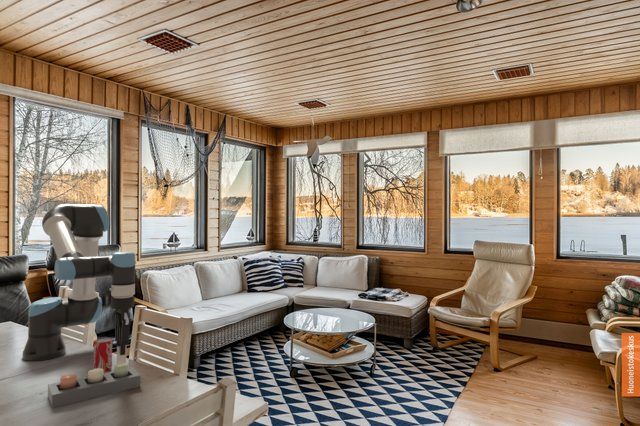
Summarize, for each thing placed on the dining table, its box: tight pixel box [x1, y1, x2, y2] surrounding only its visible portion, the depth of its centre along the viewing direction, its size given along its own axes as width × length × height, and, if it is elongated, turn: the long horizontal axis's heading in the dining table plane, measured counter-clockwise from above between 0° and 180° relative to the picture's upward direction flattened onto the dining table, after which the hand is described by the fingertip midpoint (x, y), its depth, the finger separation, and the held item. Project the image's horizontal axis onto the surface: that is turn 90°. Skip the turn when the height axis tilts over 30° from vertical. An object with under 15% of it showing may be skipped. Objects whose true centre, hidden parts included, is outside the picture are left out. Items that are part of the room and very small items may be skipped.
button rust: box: [59, 373, 78, 389], centre depth 134 cm, size 5×5×3 cm
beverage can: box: [92, 337, 113, 373], centre depth 157 cm, size 6×6×12 cm
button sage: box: [113, 362, 130, 377], centre depth 144 cm, size 5×5×3 cm
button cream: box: [87, 368, 104, 383], centre depth 139 cm, size 5×5×3 cm
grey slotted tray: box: [47, 366, 141, 409], centre depth 139 cm, size 10×26×4 cm, turn 130°
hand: (121, 363), depth 144 cm, fingers closed
